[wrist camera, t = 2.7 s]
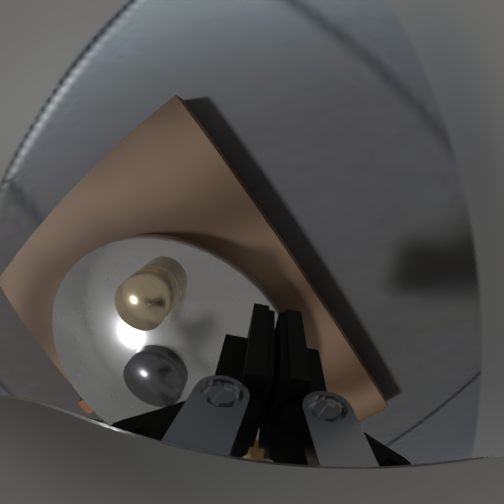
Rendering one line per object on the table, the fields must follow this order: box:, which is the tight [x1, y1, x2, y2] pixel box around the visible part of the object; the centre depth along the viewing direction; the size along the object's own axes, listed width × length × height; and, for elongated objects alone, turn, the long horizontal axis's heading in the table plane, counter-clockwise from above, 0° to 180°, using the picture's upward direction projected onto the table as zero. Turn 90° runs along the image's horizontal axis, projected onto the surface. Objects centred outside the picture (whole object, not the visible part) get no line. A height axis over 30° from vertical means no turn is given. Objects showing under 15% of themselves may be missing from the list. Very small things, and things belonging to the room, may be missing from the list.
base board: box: [0, 95, 388, 461], centre depth 19 cm, size 24×20×5 cm
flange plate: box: [52, 234, 281, 440], centre depth 17 cm, size 16×17×5 cm
